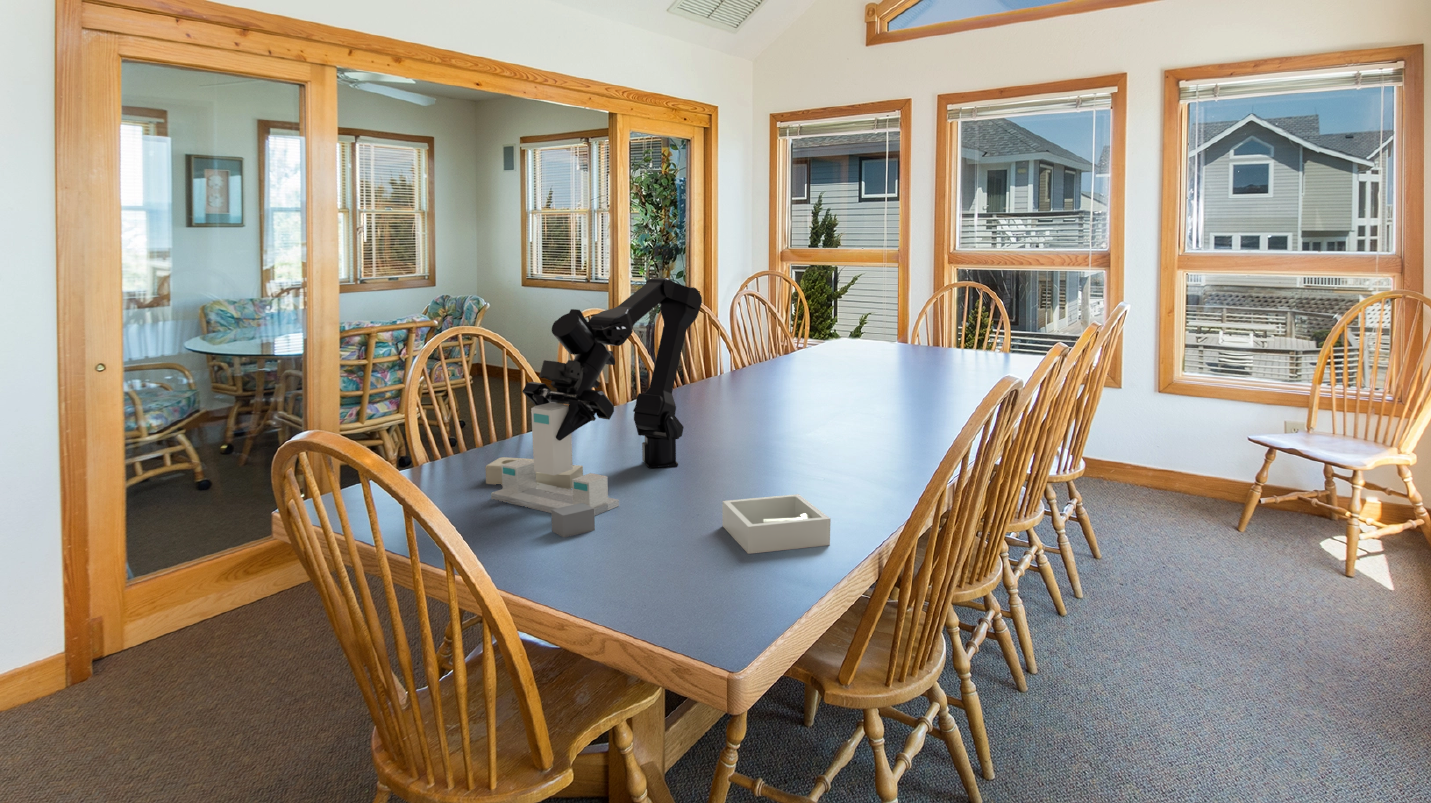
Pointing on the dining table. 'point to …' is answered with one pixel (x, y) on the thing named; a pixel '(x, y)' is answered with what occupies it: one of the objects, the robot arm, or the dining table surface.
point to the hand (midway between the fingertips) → (546, 437)
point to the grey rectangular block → (573, 520)
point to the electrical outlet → (555, 480)
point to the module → (550, 439)
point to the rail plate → (551, 490)
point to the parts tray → (775, 523)
